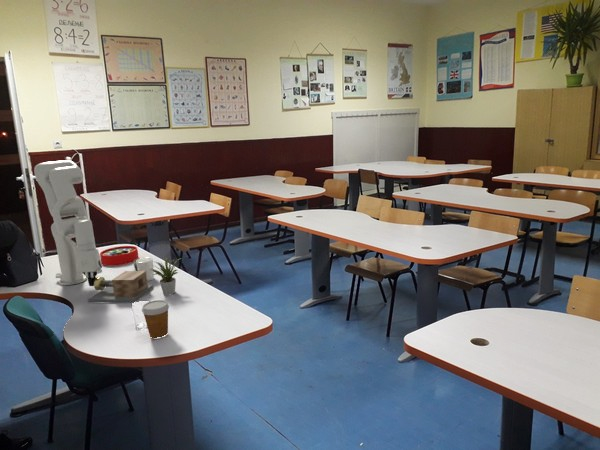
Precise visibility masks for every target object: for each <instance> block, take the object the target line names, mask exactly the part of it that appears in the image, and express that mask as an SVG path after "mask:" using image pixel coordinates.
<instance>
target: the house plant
mask: <svg viewBox="0 0 600 450" xmlns="http://www.w3.org/2000/svg"><path fill="white" fill-rule="evenodd" d="M181 259H182V257H181V258H178V259H176V260H174V261H173V260H168V257H166V258H165V259H164V264H163V263H162V262H160V261H159V260H158V261H154V260H153V263H156V264H157V265H158V266H159V267H158V266H156V265H154V264H153V267H156V268H157V269H158V270H157V269H154V268H153V269H150V270H152V271H154V274H153V275H154V276H155V275H158V277H161V279H160V280H159V283H160V287H161V290H162V294H163V296H164V295H165V296H171V295H174V294H175V293H176V285H177V283H176V281H177V279H176V278H175V277H173V276H174V275H177V274H178V273H180V272H177V271H178V269H175V267H176V266H177V264H178V261H180V260H181ZM168 262H169V263H168ZM172 262H173V264H172ZM171 265H172V266H171ZM173 293H174V294H173ZM170 294H171V295H170Z"/></svg>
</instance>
